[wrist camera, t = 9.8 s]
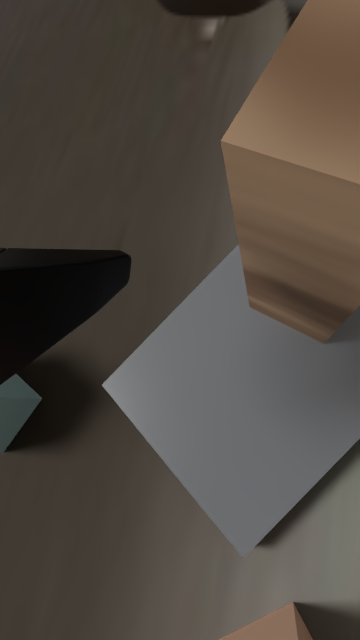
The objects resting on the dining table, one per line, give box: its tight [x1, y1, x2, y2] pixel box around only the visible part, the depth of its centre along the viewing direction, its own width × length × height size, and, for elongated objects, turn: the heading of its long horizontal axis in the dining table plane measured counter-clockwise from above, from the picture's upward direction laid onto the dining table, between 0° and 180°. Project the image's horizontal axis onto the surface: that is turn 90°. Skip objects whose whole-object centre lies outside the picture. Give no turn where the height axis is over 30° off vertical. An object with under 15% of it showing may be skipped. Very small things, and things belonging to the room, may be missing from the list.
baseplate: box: [102, 244, 360, 558], centre depth 19 cm, size 16×12×2 cm
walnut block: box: [221, 0, 360, 344], centre depth 13 cm, size 4×4×13 cm
